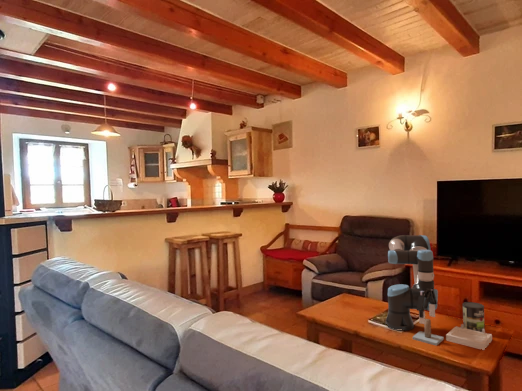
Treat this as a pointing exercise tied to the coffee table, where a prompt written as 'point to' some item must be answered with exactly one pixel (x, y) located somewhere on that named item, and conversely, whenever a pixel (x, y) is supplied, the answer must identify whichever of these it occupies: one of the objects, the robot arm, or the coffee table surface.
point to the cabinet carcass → (469, 337)
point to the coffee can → (473, 316)
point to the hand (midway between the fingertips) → (427, 319)
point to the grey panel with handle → (428, 335)
